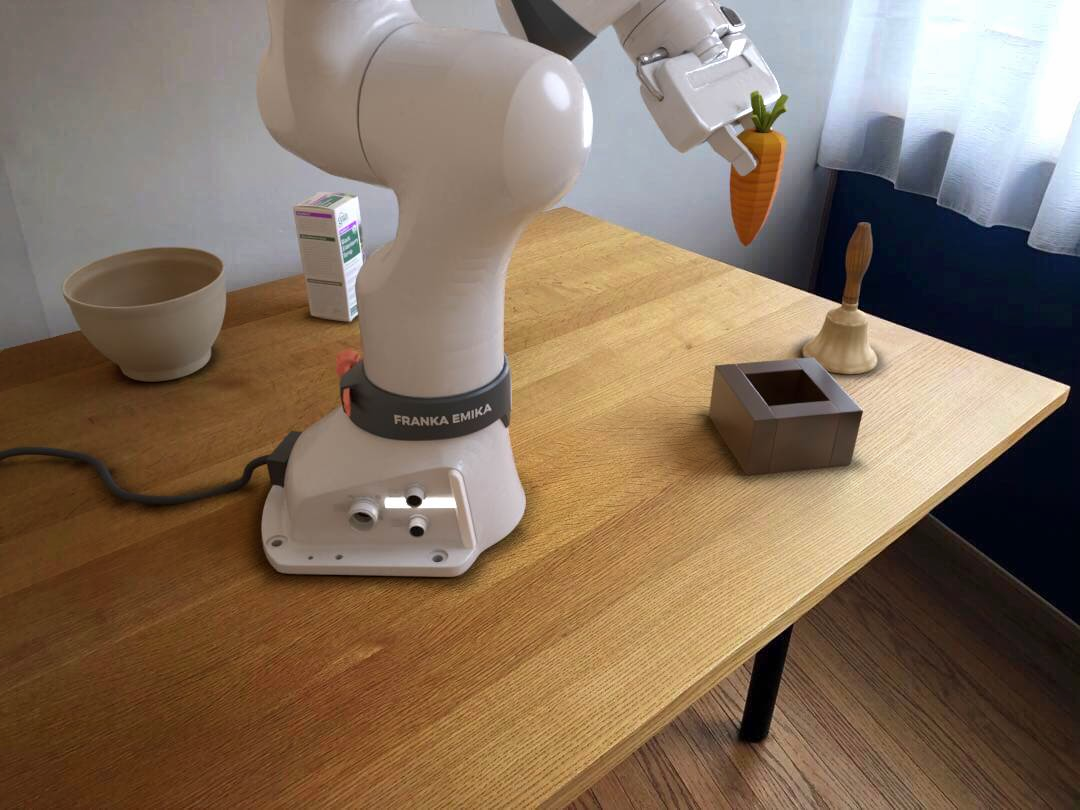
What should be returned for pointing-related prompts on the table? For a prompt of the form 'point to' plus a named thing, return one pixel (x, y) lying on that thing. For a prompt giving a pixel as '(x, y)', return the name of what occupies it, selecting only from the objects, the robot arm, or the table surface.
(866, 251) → the hand bell
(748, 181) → the carrot
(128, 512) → the table surface
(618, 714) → the table surface
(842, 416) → the stand
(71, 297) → the planter bowl
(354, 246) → the syrup box
